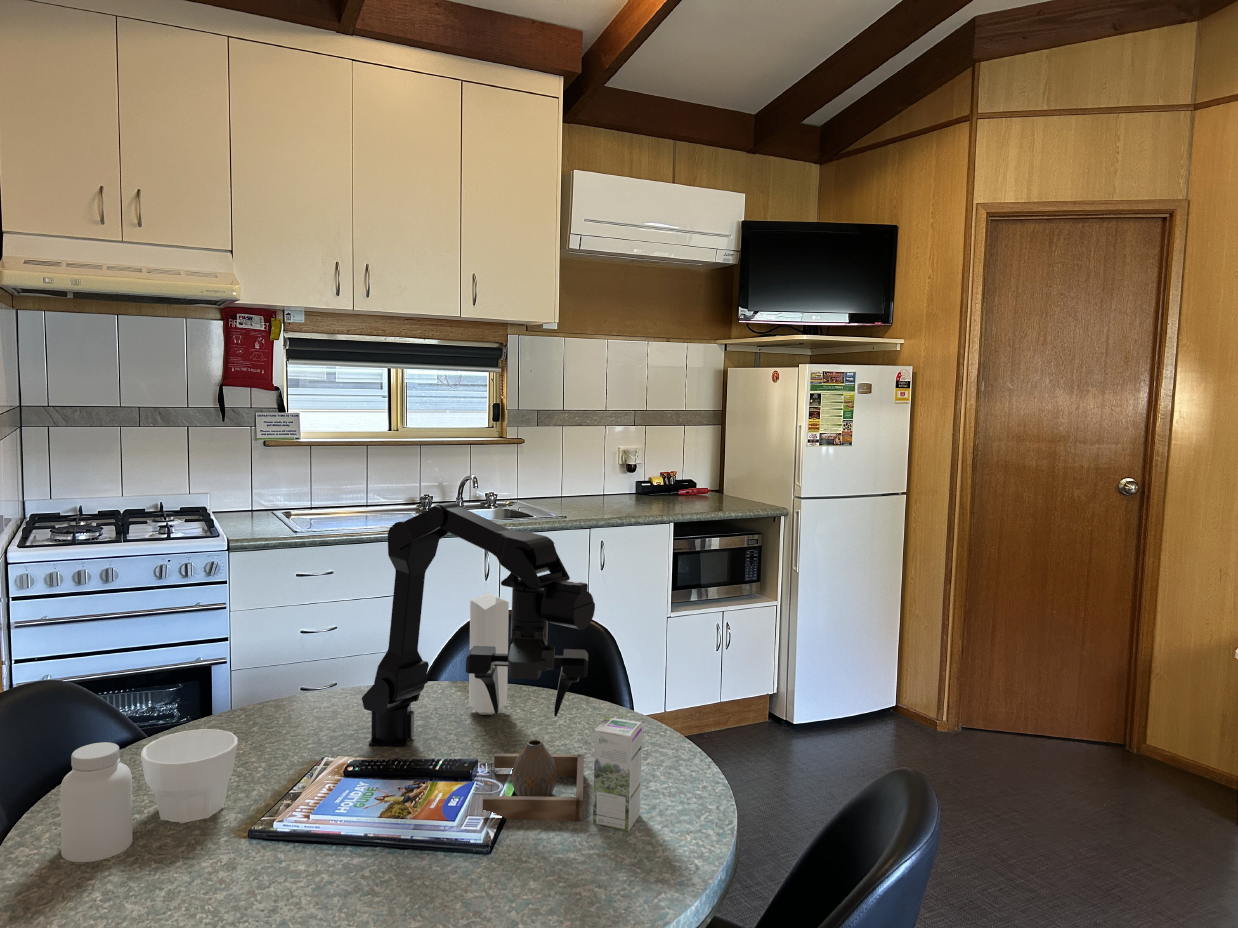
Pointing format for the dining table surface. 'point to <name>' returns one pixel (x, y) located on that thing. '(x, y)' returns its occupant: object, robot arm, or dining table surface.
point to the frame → (541, 805)
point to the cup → (190, 772)
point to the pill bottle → (96, 804)
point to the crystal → (488, 631)
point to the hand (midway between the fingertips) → (526, 714)
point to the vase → (534, 771)
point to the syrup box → (617, 773)
